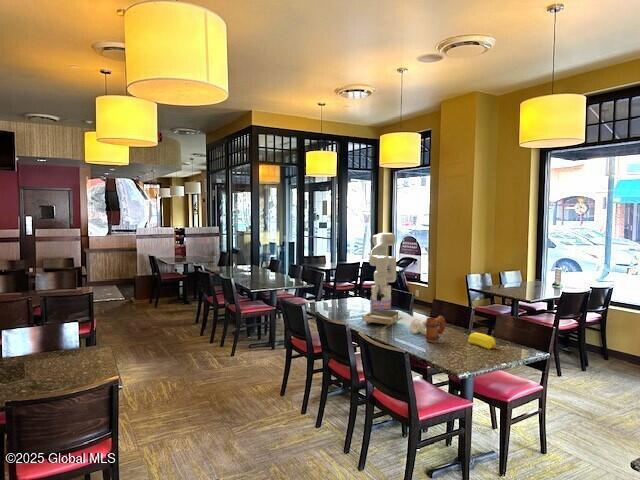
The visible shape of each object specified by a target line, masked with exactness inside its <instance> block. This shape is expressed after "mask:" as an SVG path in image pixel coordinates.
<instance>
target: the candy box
mask: <svg viewBox="0 0 640 480" xmlns="http://www.w3.org/2000/svg"><path fill="white" fill-rule="evenodd" d="M370 287H371V290H370V291H371V292H370V293H371V295H370V296H371V298H370V299H371V301H370V305H371V306H370V310H390V311H392V286H391V285H386V286H384V287H383V291H382V292H381V301H377V293H376V290H375V284H373V285H371V286H370ZM379 291H380V290H379Z"/></svg>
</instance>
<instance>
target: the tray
mask: <svg viewBox="0 0 640 480" xmlns="http://www.w3.org/2000/svg"><path fill="white" fill-rule="evenodd" d="M370 310H371V309H370ZM398 317H399V311H396V310H371V311H369V312H367V313H365V314H363V315H362V316H361V320H362V322H366V323H369V322H372V323H376V324H381V325H382V324H384V326H386V325H388V324H389V325H390V324H391V323H393V322H394V321H396V320H398ZM398 321H399V320H398ZM396 322H397V321H396ZM366 323H365V324H366ZM393 324H394V323H393ZM390 326H391V325H390Z"/></svg>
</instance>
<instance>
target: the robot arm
mask: <svg viewBox="0 0 640 480" xmlns="http://www.w3.org/2000/svg"><path fill="white" fill-rule="evenodd" d="M396 239H397V237H396V235H395V233H393V232H380V233H377V234H374V235H373V236H372V243H373V248H372V249H371V250H370V252H369V265H370V266H372V267H376V268H375V271H374V272H373V280H374V285H375V290H376V293H377V301H381V292H382V291H383V287H384V286H388V283H395V282H396V280H397V260H396V257H394V256H392V255H391V256H389V255H387V251H388V246H391V247H392V246H395V244H396V241H397V240H396ZM379 290H380V291H379Z"/></svg>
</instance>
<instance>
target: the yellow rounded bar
mask: <svg viewBox="0 0 640 480" xmlns="http://www.w3.org/2000/svg"><path fill="white" fill-rule="evenodd" d="M468 343H469V344H471V345H474V346H479V347H481V348H484V349H488V350H490V349H495V348H496V340H495V339H494V337H493V336H491V335H487V334H485V333H480V332H472V333H470V334H469V337H468Z"/></svg>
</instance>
